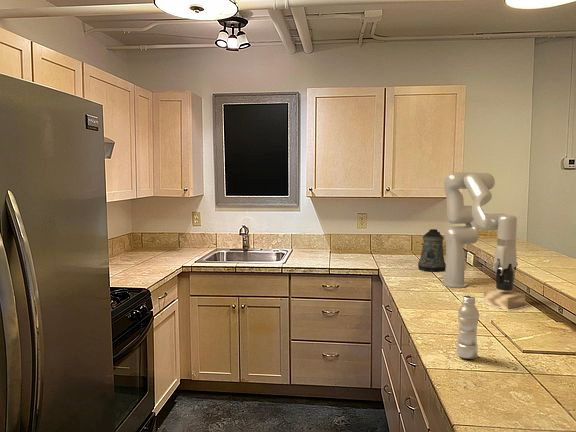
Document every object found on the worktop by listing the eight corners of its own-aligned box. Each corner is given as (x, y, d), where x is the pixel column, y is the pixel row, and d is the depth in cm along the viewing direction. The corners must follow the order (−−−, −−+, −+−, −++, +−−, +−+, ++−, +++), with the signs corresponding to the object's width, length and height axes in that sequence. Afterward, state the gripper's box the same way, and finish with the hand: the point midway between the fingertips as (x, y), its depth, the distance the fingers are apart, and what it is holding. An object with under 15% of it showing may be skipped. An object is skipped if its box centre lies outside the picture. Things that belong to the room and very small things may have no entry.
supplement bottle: (503, 291, 200) (504, 264, 198) (492, 287, 206) (493, 261, 205) (516, 290, 201) (517, 263, 200) (505, 286, 208) (506, 261, 207)
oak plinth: (483, 302, 207) (484, 291, 206) (500, 299, 212) (501, 288, 212) (507, 309, 196) (508, 298, 196) (524, 305, 202) (525, 294, 202)
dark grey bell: (418, 271, 277) (419, 231, 275) (417, 265, 296) (418, 227, 294) (447, 273, 273) (448, 231, 271) (443, 266, 292) (445, 228, 290)
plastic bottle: (472, 353, 151) (474, 294, 149) (481, 361, 144) (483, 299, 142) (452, 353, 151) (454, 294, 149) (461, 362, 144) (463, 300, 142)
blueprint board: (478, 304, 208) (478, 301, 208) (498, 299, 215) (498, 297, 215) (510, 313, 194) (510, 310, 194) (530, 308, 201) (530, 306, 201)
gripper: (511, 240, 209) (509, 278, 211) (486, 243, 201) (484, 283, 203) (526, 242, 203) (524, 282, 204) (501, 245, 194) (499, 286, 196)
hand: (504, 282), depth 203 cm, fingers closed on supplement bottle, 6 cm apart
